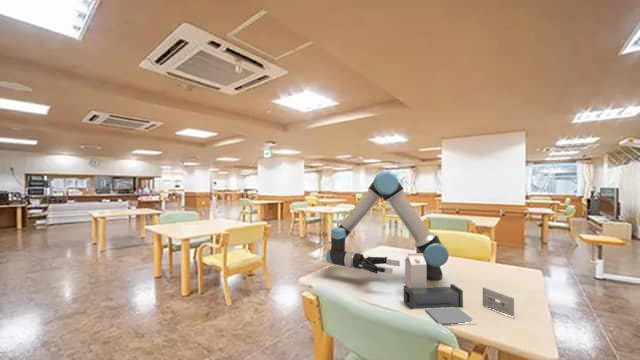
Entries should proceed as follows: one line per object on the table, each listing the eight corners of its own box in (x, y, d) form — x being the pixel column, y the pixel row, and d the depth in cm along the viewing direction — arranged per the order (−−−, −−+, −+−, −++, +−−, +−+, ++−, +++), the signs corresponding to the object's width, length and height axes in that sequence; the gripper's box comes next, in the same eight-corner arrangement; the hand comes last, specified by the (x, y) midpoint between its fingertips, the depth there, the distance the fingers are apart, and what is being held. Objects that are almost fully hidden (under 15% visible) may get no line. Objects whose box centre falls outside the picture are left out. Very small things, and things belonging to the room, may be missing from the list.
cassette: (481, 305, 112) (481, 287, 112) (484, 305, 113) (484, 286, 113) (512, 319, 101) (512, 298, 102) (515, 318, 102) (515, 297, 102)
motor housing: (453, 300, 118) (452, 284, 118) (462, 307, 111) (462, 290, 111) (402, 301, 116) (402, 285, 116) (409, 309, 109) (409, 292, 109)
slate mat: (458, 309, 108) (458, 307, 108) (476, 324, 98) (476, 321, 98) (425, 311, 107) (425, 309, 107) (439, 325, 96) (439, 323, 96)
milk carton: (405, 291, 126) (405, 251, 127) (419, 291, 127) (419, 251, 127) (411, 298, 119) (411, 255, 120) (426, 297, 120) (426, 255, 120)
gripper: (363, 261, 150) (402, 268, 139) (344, 274, 128) (388, 283, 117) (363, 248, 150) (402, 253, 139) (344, 258, 128) (388, 266, 117)
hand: (396, 267), depth 128 cm, fingers open, 13 cm apart
